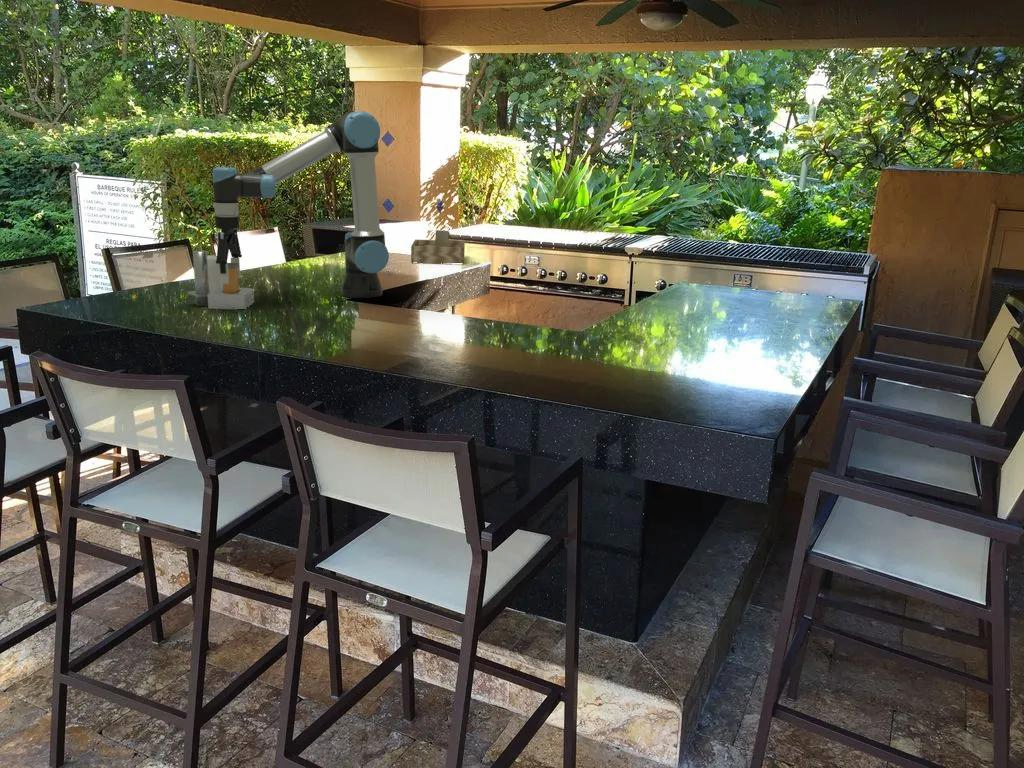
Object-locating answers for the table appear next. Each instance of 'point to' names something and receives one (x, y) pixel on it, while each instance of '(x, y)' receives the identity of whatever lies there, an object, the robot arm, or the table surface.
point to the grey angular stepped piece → (217, 296)
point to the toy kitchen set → (441, 239)
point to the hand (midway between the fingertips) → (230, 280)
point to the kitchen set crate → (437, 252)
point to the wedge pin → (232, 279)
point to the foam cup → (213, 273)
